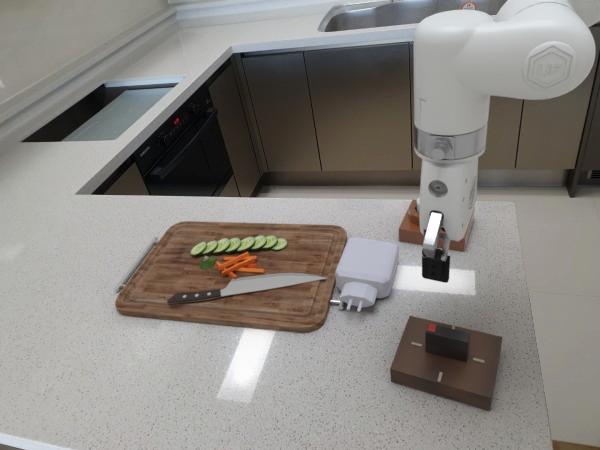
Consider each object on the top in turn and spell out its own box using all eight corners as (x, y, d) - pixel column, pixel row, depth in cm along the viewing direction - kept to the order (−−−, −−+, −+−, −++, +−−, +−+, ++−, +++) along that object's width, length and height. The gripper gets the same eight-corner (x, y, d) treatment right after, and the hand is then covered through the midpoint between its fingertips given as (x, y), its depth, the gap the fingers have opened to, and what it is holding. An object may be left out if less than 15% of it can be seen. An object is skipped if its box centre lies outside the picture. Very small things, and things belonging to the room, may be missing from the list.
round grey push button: (438, 205, 87) (438, 196, 86) (433, 216, 85) (434, 207, 84) (419, 203, 89) (419, 194, 88) (414, 213, 87) (414, 204, 85)
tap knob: (468, 353, 63) (470, 331, 60) (466, 362, 61) (468, 341, 59) (427, 342, 65) (428, 321, 62) (425, 351, 64) (425, 330, 61)
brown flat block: (500, 350, 66) (502, 336, 64) (490, 411, 59) (492, 397, 57) (409, 328, 71) (409, 314, 69) (390, 381, 64) (389, 367, 63)
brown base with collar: (473, 219, 90) (475, 198, 87) (464, 251, 83) (465, 230, 80) (412, 211, 95) (412, 191, 92) (399, 241, 88) (398, 220, 85)
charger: (326, 315, 75) (348, 255, 86) (382, 326, 72) (398, 263, 83) (324, 295, 72) (347, 236, 83) (382, 305, 69) (399, 243, 80)
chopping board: (362, 230, 92) (361, 218, 91) (337, 336, 72) (335, 323, 70) (167, 225, 106) (162, 214, 104) (100, 313, 85) (93, 301, 84)
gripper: (469, 181, 43) (460, 308, 53) (499, 104, 54) (487, 220, 64) (391, 172, 46) (396, 293, 56) (435, 101, 58) (432, 212, 68)
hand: (444, 254), depth 60 cm, fingers open, 9 cm apart
